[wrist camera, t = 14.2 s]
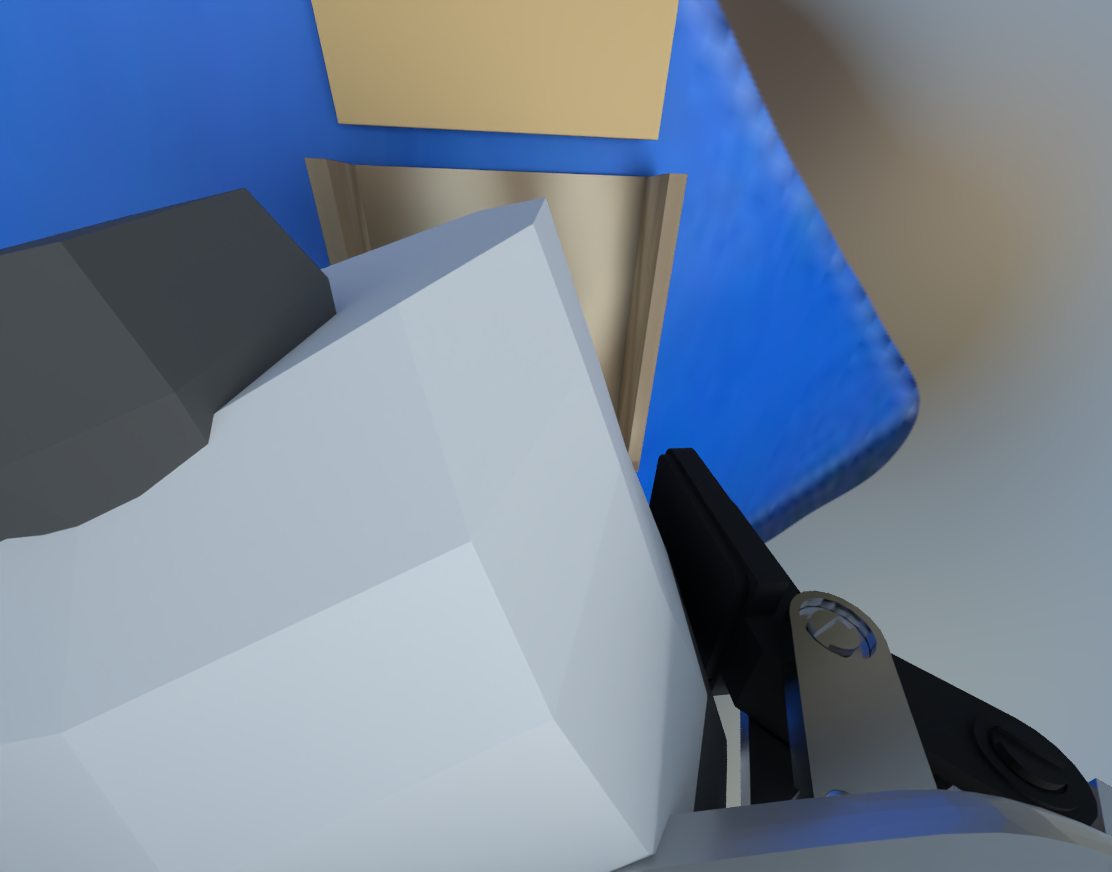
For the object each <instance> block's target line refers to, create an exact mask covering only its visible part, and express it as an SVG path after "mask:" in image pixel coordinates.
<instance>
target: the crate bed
mask: <svg viewBox="0 0 1112 872" xmlns="http://www.w3.org/2000/svg"><path fill="white" fill-rule="evenodd" d="M305 162H306V167H307V171H308V175H309V179H310V183H311V187H312V191H313V195H314V200H315V204H316V208H317V212H318V216H319V220H320V224H321V229H322V233H323V237H324V241H325V245H326V249H327V253H328V257H329V262H330V266H331V265H334V264H336V263H339V262H342V261H344V260H347V259H350V258H353V257H355V256H358V255H361V254H363V253H366V252H369V251H372V250H374V249H377V248H380V247H382V246H385V245H388V244H390V243H393V242H396V241H399V240H401V239H404V238H407V237H409V236H412V235H415V234H417V233H420V232H423V231H426V230H428V229H431V228H434V227H436V226H439V225H442V224H444V223H447V222H450V221H453V220H455V219H458V218H461V217H463V216H466V215H469V214H472V213H474V212H477V211H480V210H485V209H490V208H495V207H500V206H505V205H510V204H515V203H520V202H525V201H529V200H534V199H539V198H544V197H546V200H547V203H548V206H549V209H550V212H551V216H552V219H553V222H554V225H555V228H556V231H557V234H558V237H559V240H560V243H561V247H562V250H563V253H564V256H565V259H566V262H567V265H568V268H569V271H570V275H571V278H572V281H573V284H574V287H575V290H576V293H577V296H578V299H579V302H580V305H581V308H582V311H583V314H584V317H585V320H586V323H587V326H588V329H589V333H590V336H591V339H592V342H593V345H594V348H595V351H596V354H597V357H598V360H599V364H600V367H601V370H602V373H603V376H604V379H605V383H606V386H607V389H608V392H609V395H610V399H611V402H612V405H613V408H614V411H615V415H616V418H617V421H618V424H619V427H620V431H621V434H622V437H623V440H624V443H625V447H626V449H627V452H628V454H629V457H630V459H631V462H632V465H633V467H634V470H635V472H638V469H639V463H640V457H641V451H642V445H643V439H644V433H645V427H646V421H647V415H648V409H649V403H650V397H651V391H652V385H653V379H654V373H655V367H656V361H657V355H658V349H659V343H660V337H661V331H662V325H663V319H664V313H665V307H666V301H667V295H668V289H669V283H670V277H671V271H672V265H673V259H674V253H675V247H676V241H677V235H678V229H679V223H680V217H681V211H682V205H683V199H684V193H685V187H686V181H687V175H688V174H672V173H669V174H662V175H655V176H649V177H636V176H611V175H587V174H563V173H539V172H515V171H490V170H466V169H442V168H418V167H393V166H369V165H353V164H348V163H344V162H339V161H334V160H329V159H319V158H305Z"/></svg>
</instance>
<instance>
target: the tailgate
mask: <svg viewBox="0 0 1112 872" xmlns="http://www.w3.org/2000/svg"><path fill="white" fill-rule="evenodd" d="M311 2H312V6H313V11H314V15H315V20H316V24H317V29H318V33H319V38H320V42H321V47H322V51H323V56H324V60H325V65H326V69H327V74H328V78H329V83H330V87H331V92H332V96H333V101H334V105H335V110H336V115H337V119H338V123H340V124H347V125H366V126H386V127H405V128H425V129H444V130H464V131H483V132H503V133H522V134H542V135H562V136H581V137H601V138H620V139H640V140H658V135H659V128H660V122H661V115H662V108H663V102H664V95H665V88H666V82H667V75H668V69H669V62H670V55H671V49H672V42H673V35H674V29H675V22H676V15H677V9H678V2H679V0H311Z"/></svg>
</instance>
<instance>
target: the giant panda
mask: <svg viewBox="0 0 1112 872" xmlns="http://www.w3.org/2000/svg"><path fill="white" fill-rule="evenodd" d="M726 778H727V740H726V736H725V733H724V730H723V727H722V723H721V720H720V717H719V714H718V711H717V708H716V704H715V701H714V698H713V694H712V691H711V688H710V685H709V682H708V678H707V675H706V672H705V669H704V665H703V662H702V659H701V656H700V652H699V649H698V646H697V643H696V640H695V636H694V633H693V630H692V627H691V623H690V620H689V617H688V614H687V611H686V607H685V604H684V601H683V598H682V594H681V591H680V588H679V585H678V582H677V579H676V576H675V573H674V571H673V568H672V565H671V562H670V559H669V556H668V554H667V551H666V548H665V546H664V543H663V541H662V538H661V536H660V533H659V531H658V528H657V526H656V523H655V520H654V518H653V515H652V513H651V510H650V508H649V505H648V503H647V500H646V498H645V495H644V492H643V490H642V487H641V485H640V482H639V480H638V477H637V475H636V472H635V470H634V467H633V465H632V462H631V459H630V457H629V454H628V452H627V449H626V447H625V443H624V440H623V437H622V434H621V431H620V427H619V424H618V421H617V418H616V415H615V411H614V408H613V405H612V402H611V399H610V395H609V392H608V389H607V386H606V383H605V379H604V376H603V373H602V370H601V367H600V364H599V360H598V357H597V354H596V351H595V348H594V345H593V342H592V339H591V336H590V333H589V329H588V326H587V323H586V320H585V317H584V314H583V311H582V308H581V305H580V302H579V299H578V296H577V293H576V290H575V287H574V284H573V281H572V278H571V275H570V271H569V268H568V265H567V262H566V259H565V256H564V253H563V250H562V247H561V243H560V240H559V237H558V234H557V231H556V228H555V225H554V222H553V219H552V216H551V212H550V209H549V206H548V203H547V200H546V197H544V198H539V199H534V200H529V201H525V202H520V203H515V204H510V205H505V206H500V207H495V208H490V209H485V210H480V211H477V212H474V213H472V214H469V215H466V216H463V217H461V218H458V219H455V220H453V221H450V222H447V223H444V224H442V225H439V226H436V227H434V228H431V229H428V230H426V231H423V232H420V233H417V234H415V235H412V236H409V237H407V238H404V239H401V240H399V241H396V242H393V243H390V244H388V245H385V246H382V247H380V248H377V249H374V250H372V251H369V252H366V253H363V254H361V255H358V256H355V257H353V258H350V259H347V260H344V261H342V262H339V263H336V264H334V265H331V266H328V267H326V268H323V269H320V268H319V267H318V266H317V265H316V264H315V263H314V262H313V261H312V260H311V259H310V258H309V257H308V256H307V254H306V253H305V252H304V251H303V250H302V249H301V248H300V247H299V246H298V245H297V244H296V243H295V241H294V240H293V239H292V238H291V237H290V236H289V235H288V234H287V233H286V232H285V231H284V230H283V229H282V227H281V226H280V225H279V224H278V223H277V222H276V221H275V220H274V219H273V218H272V217H271V216H270V214H269V213H268V212H267V211H266V210H265V209H264V208H263V207H262V206H261V205H260V204H259V203H258V202H257V200H256V199H255V198H254V197H253V196H252V195H251V194H250V193H249V192H248V191H247V190H246V189H245V188H242V189H238V190H234V191H230V192H225V193H221V194H217V195H213V196H209V197H205V198H201V199H197V200H192V201H188V202H184V203H180V204H176V205H172V206H168V207H163V208H159V209H155V210H151V211H147V212H143V213H139V214H135V215H130V216H126V217H122V218H119V219H115V220H111V221H107V222H103V223H100V224H96V225H92V226H88V227H84V228H81V229H77V230H73V231H69V232H66V233H62V234H58V235H54V236H50V237H47V238H43V239H39V240H35V241H31V242H28V243H24V244H20V245H16V246H13V247H9V248H5V249H1V250H0V872H610V871H613V870H616V869H618V868H621V867H623V866H626V865H629V864H631V863H634V862H636V861H639V860H641V859H644V858H647V857H649V856H652V855H654V854H655V853H656V850H657V848H658V845H659V842H660V840H661V837H662V834H663V832H664V829H665V826H666V824H667V821H668V819H669V816H670V815H674V814H682V813H690V812H698V811H706V810H714V809H722V808H726Z"/></svg>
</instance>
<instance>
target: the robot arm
mask: <svg viewBox="0 0 1112 872" xmlns="http://www.w3.org/2000/svg"><path fill="white" fill-rule="evenodd" d="M649 508H650V510H651V513H652V515H653V518H654V520H655V523H656V526H657V528H658V531H659V533H660V536H661V538H662V541H663V543H664V546H665V548H666V551H667V554H668V556H669V559H670V562H671V565H672V568H673V571H674V573H675V576H676V579H677V582H678V585H679V588H680V591H681V594H682V598H683V601H684V604H685V607H686V611H687V614H688V617H689V620H690V623H691V627H692V630H693V633H694V636H695V640H696V643H697V646H698V649H699V652H700V656H701V659H702V662H703V665H704V669H705V672H706V675H707V678H708V682H709V685H710V688H711V691H712V694H713V696H716V695H727V694H730V696H731V698H732V701H733V703H734V705H735V707H737V708H738V709H740V748H741V749H740V754H741V755H740V756H741V806H739V807H731V808H722V809H714V810H706V811H698V812H690V813H682V814H674V815H670V816H669V819H668V821H667V824H666V826H665V829H664V832H663V834H662V837H661V840H660V842H659V845H658V848H657V850H656V853H655V854H654V855H652V856H649V857H647V858H644V859H641V860H639V861H636V862H634V863H631V864H629V865H626V866H623V867H621V868H618V869H616V870H613V871H610V872H1112V787H1111V786H1109V785H1107V784H1105V783H1104V782H1102V781H1100V780H1099V779H1096V778H1095V779H1093V780H1092V781H1090V782H1088V783H1087V781H1086V780H1085V778H1084V777H1083V776H1082V775H1081V773H1080V772H1079V770H1078V769H1077V768H1076V767H1075V765H1074V764H1073V763H1072V762H1071V761H1070V760H1069V759H1068V758H1067V757H1066V756H1065V755H1064V754H1063V753H1062V752H1061V751H1060V750H1059V749H1058V748H1057V747H1056V746H1055V745H1054V744H1052V743H1051V742H1050V741H1049V740H1047V739H1046V738H1045V737H1044V736H1042V735H1041V734H1040V733H1038V732H1037V731H1036V730H1034V729H1033V728H1031V727H1029V726H1028V725H1026V724H1025V723H1023V722H1021V721H1020V720H1018V719H1016V718H1015V717H1013V716H1010V715H1009V714H1007V713H1005V712H1003V711H1001V710H999V709H997V708H995V707H993V706H991V705H990V704H988V703H986V702H984V701H982V700H980V699H978V698H976V697H974V696H972V695H970V694H968V693H966V692H965V691H963V690H961V689H959V688H957V687H955V686H953V685H951V684H949V683H947V682H945V681H943V680H941V679H939V678H938V677H935V676H934V675H932V674H930V673H928V672H926V671H924V670H922V669H920V668H918V667H916V666H914V665H912V664H910V663H908V662H907V661H905V660H903V659H901V658H899V657H897V656H895V655H893V654H891V653H890V651H889V647H888V644H887V642H886V640H885V638H884V636H883V634H882V632H881V630H880V629H879V628H878V627H877V625H876V624H875V623H874V622H873V621H872V620H871V618H870V617H868V616H867V615H866V614H865V613H864V612H862V611H861V610H860V609H859V608H858V607H856V606H854V605H853V604H851V603H849V602H847V601H846V600H844V599H842V598H840V597H837V596H835V595H832V594H829V593H825V592H819V591H804V592H802V593H800V591H799V590H798V589H797V587H796V586H795V585H794V583H793V582H792V580H791V579H790V578H789V576H788V575H787V574H786V572H785V571H784V570H783V568H782V567H781V566H780V564H779V563H778V562H777V560H776V559H775V557H774V556H773V555H772V553H771V552H770V551H769V549H768V548H767V546H766V545H765V544H764V542H763V541H762V540H761V538H760V537H759V536H758V534H757V533H756V531H755V530H754V529H753V527H752V526H751V525H750V523H749V522H748V521H747V519H746V518H745V517H744V515H743V514H742V512H741V511H740V510H739V508H738V507H737V506H736V505H735V504H734V503H733V502H732V501H731V499H730V498H729V497H728V495H727V494H726V492H725V491H724V490H723V488H722V487H721V486H720V484H719V483H718V481H717V480H716V479H715V477H714V476H713V475H712V473H711V472H710V471H709V469H708V468H707V466H706V465H705V464H704V462H703V461H702V460H701V458H700V457H699V455H698V454H697V453H696V451H695V450H694V449H693V448H670V449H668V450H667V451H666V454H665V455H660V457H659V459H658V464H657V469H656V474H655V479H654V484H653V489H652V494H651V500H650V505H649Z"/></svg>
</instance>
